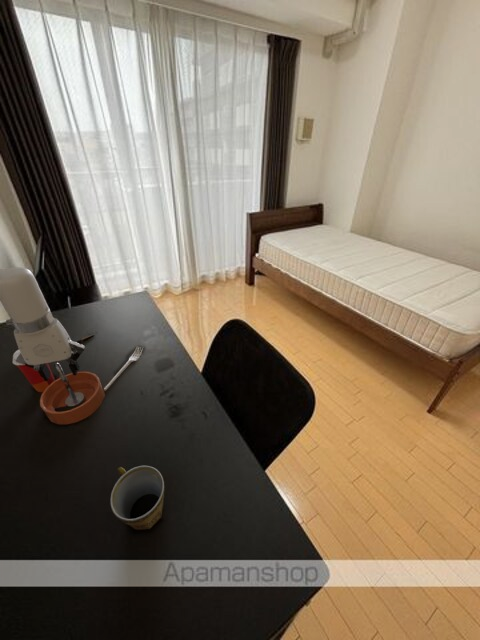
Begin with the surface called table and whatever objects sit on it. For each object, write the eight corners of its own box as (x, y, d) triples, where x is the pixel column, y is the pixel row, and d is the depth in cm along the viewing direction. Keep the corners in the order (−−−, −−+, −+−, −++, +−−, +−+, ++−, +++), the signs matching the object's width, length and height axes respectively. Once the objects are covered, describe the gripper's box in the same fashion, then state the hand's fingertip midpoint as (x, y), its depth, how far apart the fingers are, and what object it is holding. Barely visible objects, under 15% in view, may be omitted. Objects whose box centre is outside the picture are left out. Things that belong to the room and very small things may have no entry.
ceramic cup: (180, 510, 61) (174, 488, 55) (139, 554, 55) (127, 534, 49) (146, 470, 68) (137, 447, 62) (107, 504, 62) (93, 482, 56)
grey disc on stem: (65, 412, 81) (42, 372, 71) (69, 398, 85) (47, 359, 75) (84, 408, 82) (64, 368, 73) (87, 394, 86) (68, 355, 77)
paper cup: (50, 373, 94) (32, 340, 86) (64, 382, 91) (47, 349, 83) (26, 389, 89) (4, 355, 80) (39, 399, 85) (18, 365, 77)
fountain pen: (55, 354, 101) (54, 351, 101) (54, 353, 102) (53, 350, 101) (95, 336, 110) (94, 333, 109) (94, 335, 110) (93, 332, 110)
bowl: (42, 433, 76) (32, 419, 72) (55, 391, 88) (47, 377, 84) (103, 419, 79) (96, 405, 76) (107, 380, 91) (102, 367, 88)
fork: (100, 390, 88) (98, 386, 87) (137, 349, 104) (136, 345, 102) (109, 392, 87) (107, 388, 86) (145, 351, 103) (144, 347, 102)
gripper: (-16, 336, 61) (21, 392, 71) (71, 323, 65) (95, 377, 76) (-3, 317, 67) (30, 371, 77) (77, 306, 71) (98, 359, 81)
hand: (62, 374), depth 76 cm, fingers open, 6 cm apart
